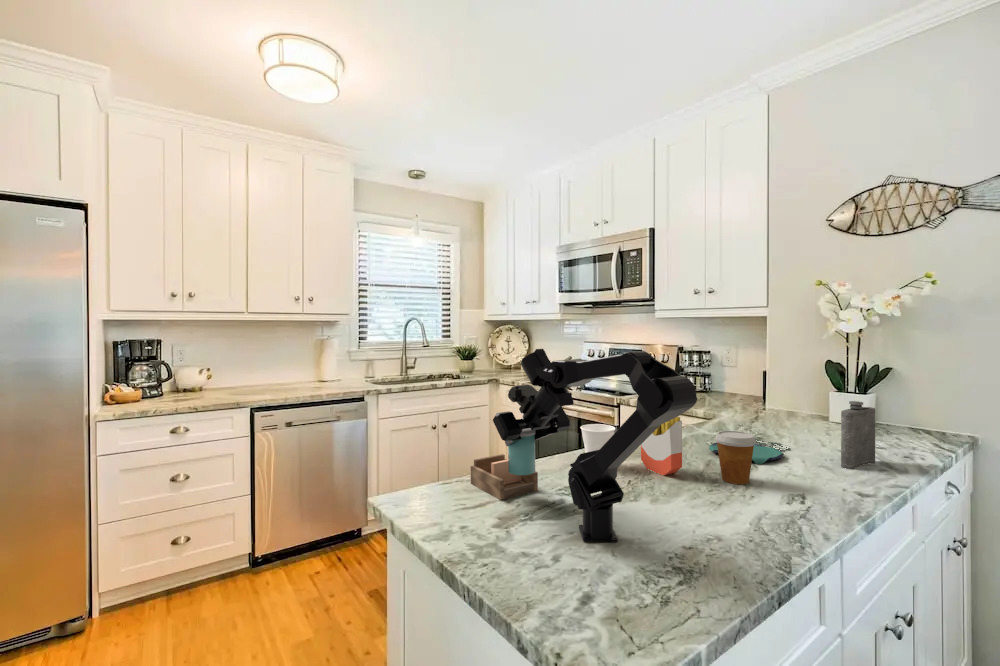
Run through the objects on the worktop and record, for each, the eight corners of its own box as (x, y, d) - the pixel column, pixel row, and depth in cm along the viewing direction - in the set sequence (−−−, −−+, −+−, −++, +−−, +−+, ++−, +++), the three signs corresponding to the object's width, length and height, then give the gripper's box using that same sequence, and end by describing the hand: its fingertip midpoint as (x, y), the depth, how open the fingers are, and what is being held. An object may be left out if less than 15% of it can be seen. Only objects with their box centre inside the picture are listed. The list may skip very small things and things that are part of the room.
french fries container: (670, 478, 124) (669, 410, 123) (639, 468, 133) (639, 404, 133) (682, 476, 126) (682, 409, 125) (651, 465, 135) (651, 403, 135)
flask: (835, 466, 133) (835, 402, 133) (862, 459, 139) (862, 398, 139) (850, 469, 130) (850, 404, 129) (877, 462, 136) (877, 400, 136)
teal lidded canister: (526, 477, 107) (525, 433, 107) (502, 472, 111) (501, 430, 111) (541, 469, 113) (540, 428, 113) (517, 465, 117) (517, 425, 117)
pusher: (521, 480, 119) (521, 458, 119) (493, 487, 115) (493, 464, 115) (518, 479, 120) (518, 457, 120) (491, 485, 116) (491, 462, 116)
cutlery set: (697, 453, 148) (697, 446, 148) (744, 440, 166) (744, 433, 166) (763, 469, 132) (764, 461, 132) (807, 453, 150) (808, 446, 150)
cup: (616, 471, 130) (616, 432, 130) (580, 469, 132) (579, 430, 132) (615, 461, 140) (614, 424, 140) (581, 459, 142) (581, 423, 142)
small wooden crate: (537, 490, 116) (537, 466, 116) (500, 500, 110) (500, 474, 110) (506, 475, 128) (505, 453, 128) (470, 483, 122) (470, 460, 122)
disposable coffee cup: (713, 483, 120) (713, 436, 120) (716, 472, 128) (716, 428, 128) (756, 489, 115) (756, 440, 115) (755, 477, 124) (755, 432, 124)
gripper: (561, 371, 113) (534, 411, 123) (496, 377, 103) (472, 419, 113) (584, 408, 107) (554, 447, 116) (518, 418, 97) (490, 460, 106)
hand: (518, 442), depth 113 cm, fingers closed on teal lidded canister, 6 cm apart
